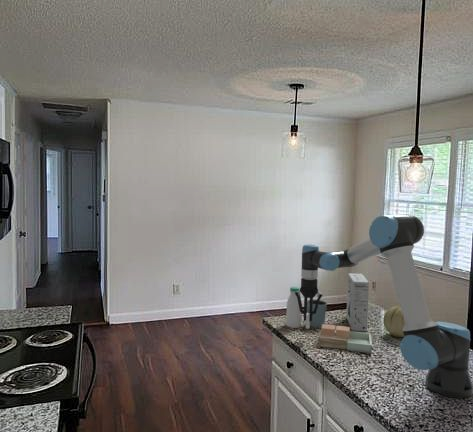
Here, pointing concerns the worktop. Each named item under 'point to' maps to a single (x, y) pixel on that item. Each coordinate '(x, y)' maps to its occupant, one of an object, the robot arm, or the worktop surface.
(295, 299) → the milk bottle
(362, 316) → the cereal box
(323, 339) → the board
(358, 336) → the tray
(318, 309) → the grey-blue hollow tapered cylinder
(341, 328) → the tile
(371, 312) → the worktop surface
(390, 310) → the cantaloupe
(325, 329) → the tile
